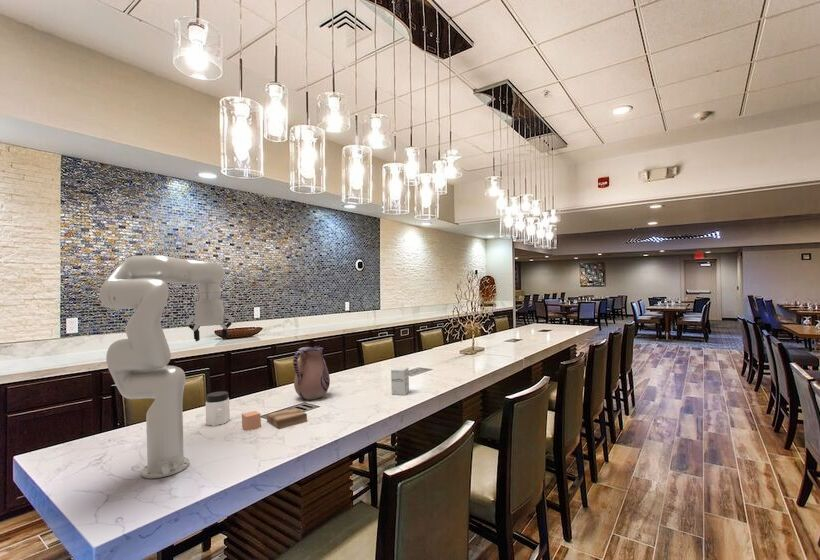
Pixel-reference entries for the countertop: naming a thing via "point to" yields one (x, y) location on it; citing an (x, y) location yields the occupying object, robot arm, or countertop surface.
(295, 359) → the ceramic pitcher
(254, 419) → the cube
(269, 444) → the countertop surface
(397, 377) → the supplement box
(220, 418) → the jar
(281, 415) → the block
